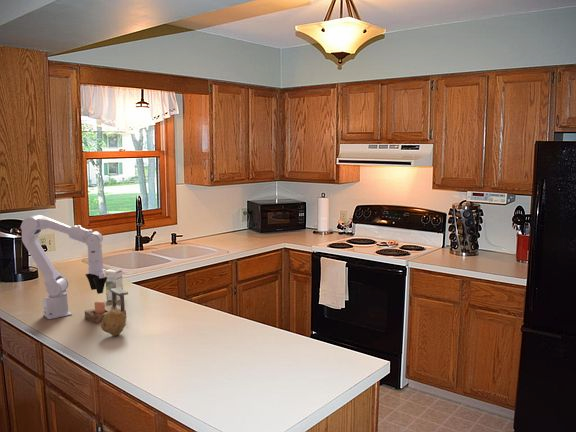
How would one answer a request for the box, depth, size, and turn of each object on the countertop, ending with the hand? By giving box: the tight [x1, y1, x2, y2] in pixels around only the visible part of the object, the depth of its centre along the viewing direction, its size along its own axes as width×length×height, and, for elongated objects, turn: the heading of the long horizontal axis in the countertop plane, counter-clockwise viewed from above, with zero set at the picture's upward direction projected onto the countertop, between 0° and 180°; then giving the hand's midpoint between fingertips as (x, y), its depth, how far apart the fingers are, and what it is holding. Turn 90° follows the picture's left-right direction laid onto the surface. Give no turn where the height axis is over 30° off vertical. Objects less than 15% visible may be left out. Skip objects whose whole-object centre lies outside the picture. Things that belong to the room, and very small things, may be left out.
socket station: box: [84, 287, 129, 325], centre depth 220 cm, size 15×11×10 cm
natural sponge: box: [100, 310, 127, 337], centre depth 198 cm, size 9×9×10 cm
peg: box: [93, 300, 106, 314], centre depth 218 cm, size 4×4×7 cm
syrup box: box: [104, 268, 124, 302], centre depth 245 cm, size 6×6×14 cm
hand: (97, 291), depth 224 cm, fingers open, 7 cm apart
